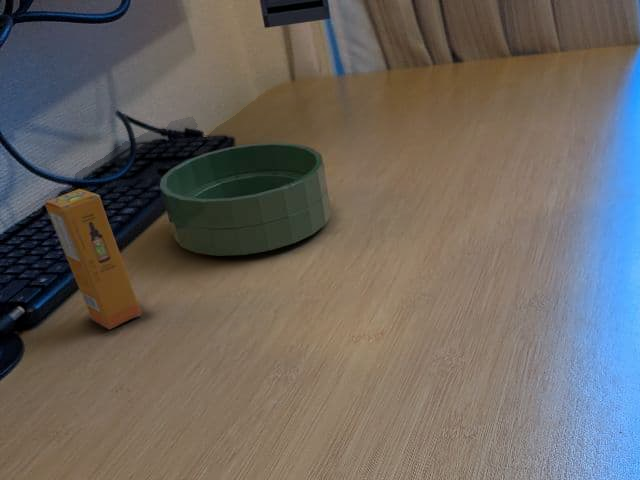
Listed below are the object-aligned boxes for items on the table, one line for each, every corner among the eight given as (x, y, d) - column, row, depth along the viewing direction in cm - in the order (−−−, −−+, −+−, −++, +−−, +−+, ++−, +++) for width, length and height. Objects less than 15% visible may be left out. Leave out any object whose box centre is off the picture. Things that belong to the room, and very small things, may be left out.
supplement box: (123, 304, 70) (81, 184, 64) (143, 316, 68) (102, 193, 62) (88, 319, 69) (41, 198, 62) (107, 332, 67) (61, 208, 60)
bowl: (180, 212, 85) (164, 157, 82) (324, 189, 86) (315, 134, 83) (173, 272, 74) (154, 211, 70) (338, 246, 75) (329, 184, 71)
